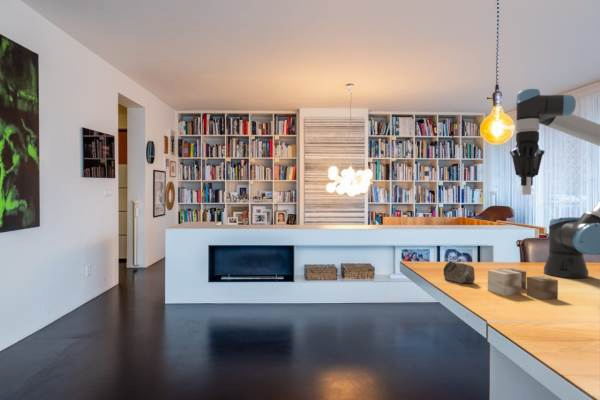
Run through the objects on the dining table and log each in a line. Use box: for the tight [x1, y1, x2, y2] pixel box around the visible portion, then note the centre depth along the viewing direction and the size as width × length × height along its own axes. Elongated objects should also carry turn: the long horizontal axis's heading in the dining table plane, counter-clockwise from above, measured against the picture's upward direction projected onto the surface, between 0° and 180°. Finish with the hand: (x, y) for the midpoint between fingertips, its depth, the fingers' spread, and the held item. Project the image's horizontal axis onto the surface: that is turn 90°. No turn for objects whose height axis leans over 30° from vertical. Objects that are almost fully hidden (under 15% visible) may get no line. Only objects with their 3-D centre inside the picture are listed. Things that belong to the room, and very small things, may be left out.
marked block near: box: [505, 267, 527, 290], centre depth 141 cm, size 6×6×6 cm
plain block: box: [487, 268, 522, 297], centre depth 133 cm, size 7×7×7 cm
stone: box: [443, 260, 476, 284], centre depth 150 cm, size 7×12×7 cm, turn 33°
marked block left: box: [525, 275, 559, 301], centre depth 127 cm, size 6×6×6 cm
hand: (526, 194), depth 151 cm, fingers closed
